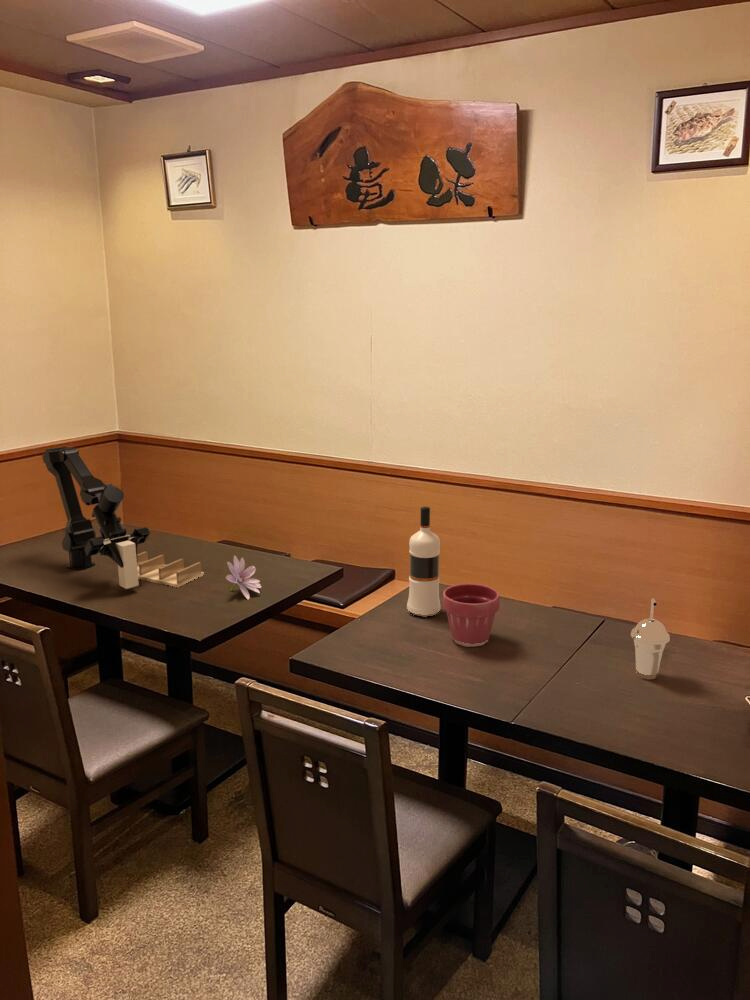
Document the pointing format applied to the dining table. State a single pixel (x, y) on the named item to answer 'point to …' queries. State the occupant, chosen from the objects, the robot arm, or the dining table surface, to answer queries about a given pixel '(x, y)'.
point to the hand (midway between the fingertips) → (129, 565)
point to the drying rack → (166, 570)
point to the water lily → (243, 577)
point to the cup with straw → (649, 643)
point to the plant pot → (470, 611)
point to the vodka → (424, 569)
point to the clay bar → (127, 564)
